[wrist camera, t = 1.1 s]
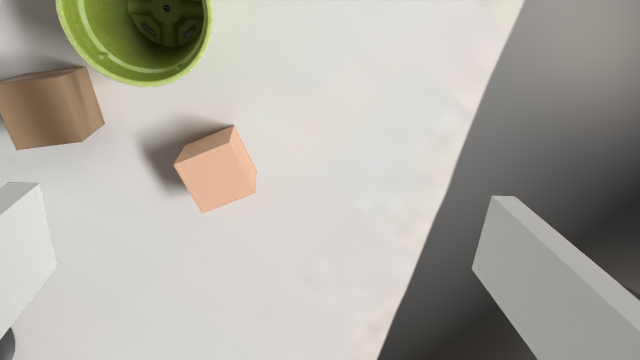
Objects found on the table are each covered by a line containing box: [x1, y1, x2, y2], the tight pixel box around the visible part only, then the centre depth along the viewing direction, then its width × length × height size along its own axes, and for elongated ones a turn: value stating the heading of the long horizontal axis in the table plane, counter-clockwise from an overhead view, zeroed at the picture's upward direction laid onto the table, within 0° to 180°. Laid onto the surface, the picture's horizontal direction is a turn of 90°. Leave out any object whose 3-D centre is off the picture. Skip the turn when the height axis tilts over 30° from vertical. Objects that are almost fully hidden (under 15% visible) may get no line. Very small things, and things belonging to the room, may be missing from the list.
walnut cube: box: [0, 67, 105, 150], centre depth 34 cm, size 5×5×5 cm
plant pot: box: [55, 0, 213, 87], centre depth 30 cm, size 9×9×9 cm
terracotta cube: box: [174, 125, 257, 214], centre depth 37 cm, size 5×5×5 cm
